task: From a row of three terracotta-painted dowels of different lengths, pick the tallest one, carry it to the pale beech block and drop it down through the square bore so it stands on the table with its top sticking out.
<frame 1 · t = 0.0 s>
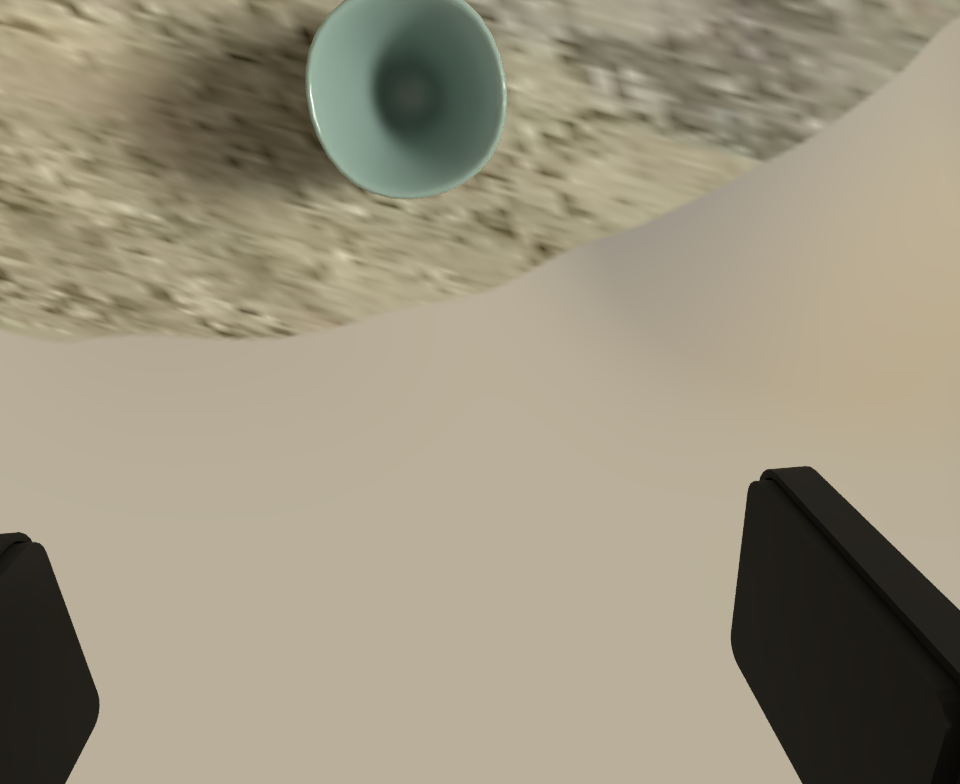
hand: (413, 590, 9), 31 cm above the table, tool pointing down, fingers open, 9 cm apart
cup: (411, 94, 36), on the table
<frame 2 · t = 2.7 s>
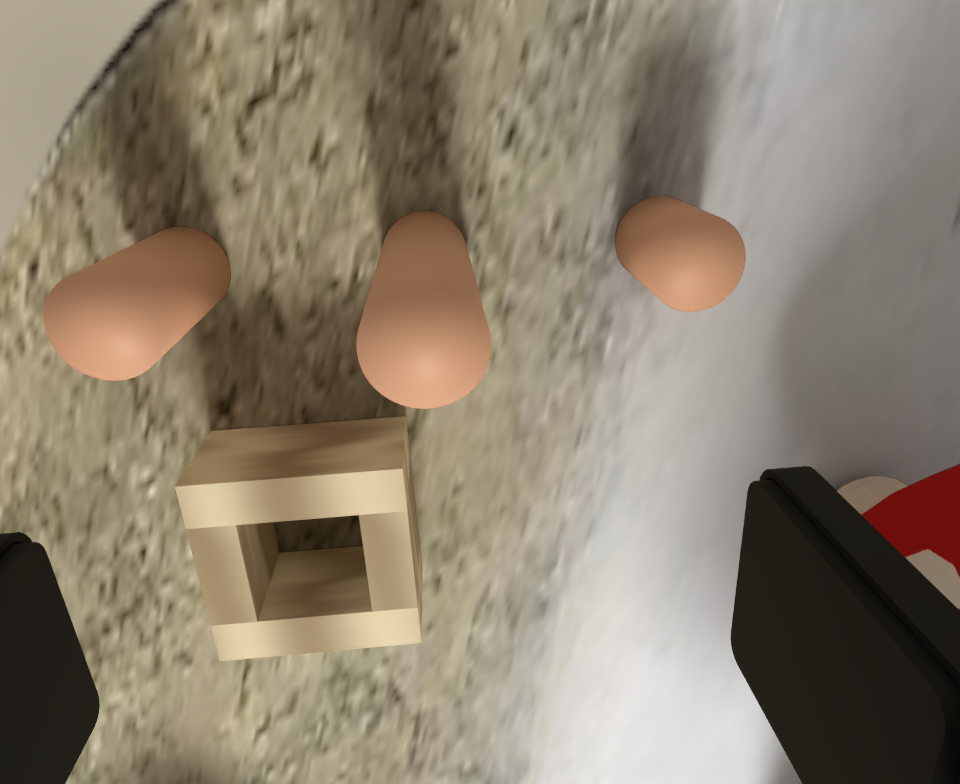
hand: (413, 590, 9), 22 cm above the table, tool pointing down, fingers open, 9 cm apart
short pin: (656, 238, 30), on the table
decorative mushroom: (847, 510, 37), on the table
bore block: (322, 506, 34), on the table
long pin: (424, 254, 30), on the table
medium pin: (186, 269, 29), on the table
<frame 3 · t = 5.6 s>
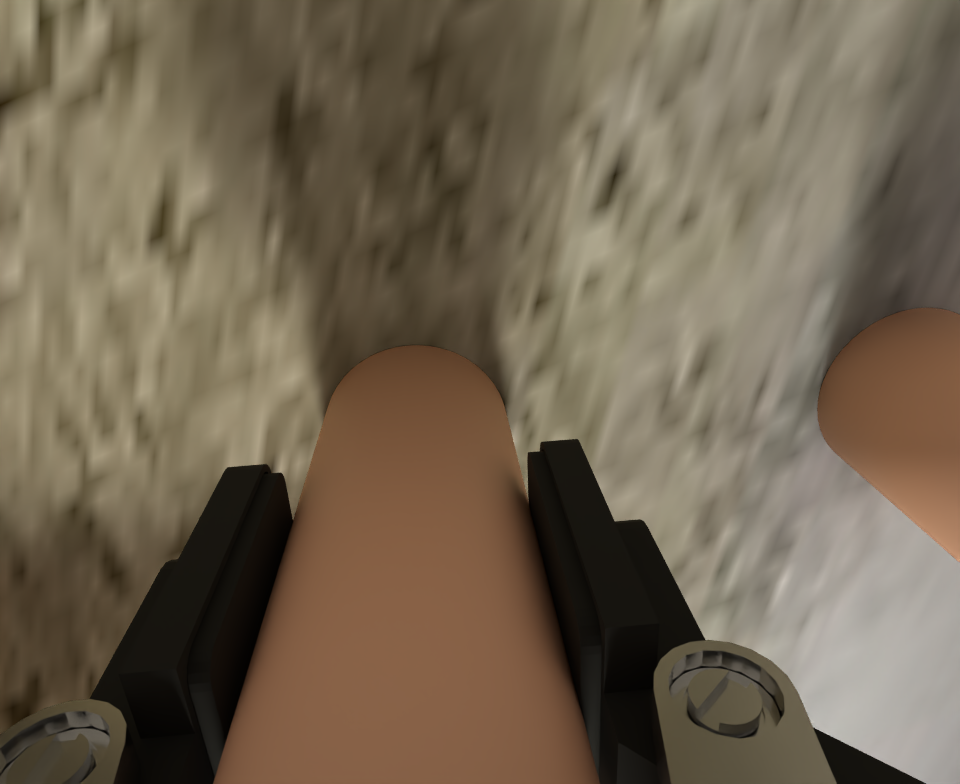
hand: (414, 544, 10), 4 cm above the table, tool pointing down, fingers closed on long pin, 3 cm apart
short pin: (903, 392, 14), on the table
long pin: (417, 430, 14), on the table, touching gripper
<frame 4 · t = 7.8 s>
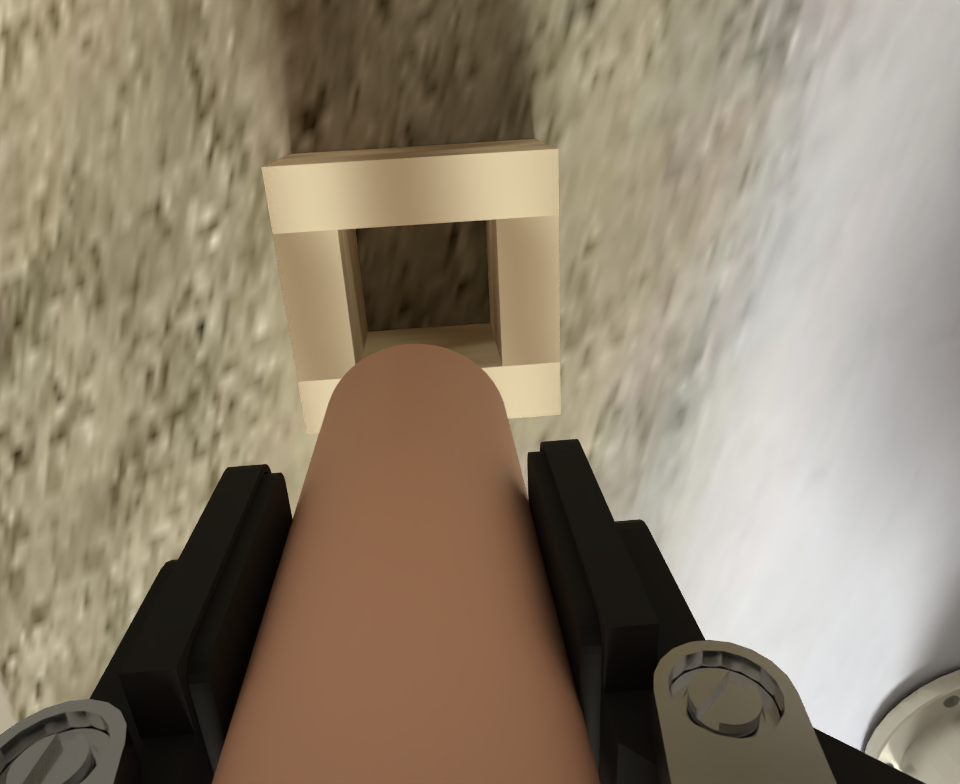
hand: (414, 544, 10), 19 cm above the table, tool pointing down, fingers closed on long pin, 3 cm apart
bore block: (424, 266, 28), on the table
long pin: (417, 429, 14), point 15 cm above the table, touching gripper
when the fingers open (6 cm above the table, at t = 10.3 s): long pin drops 2 cm, resting in bore block.
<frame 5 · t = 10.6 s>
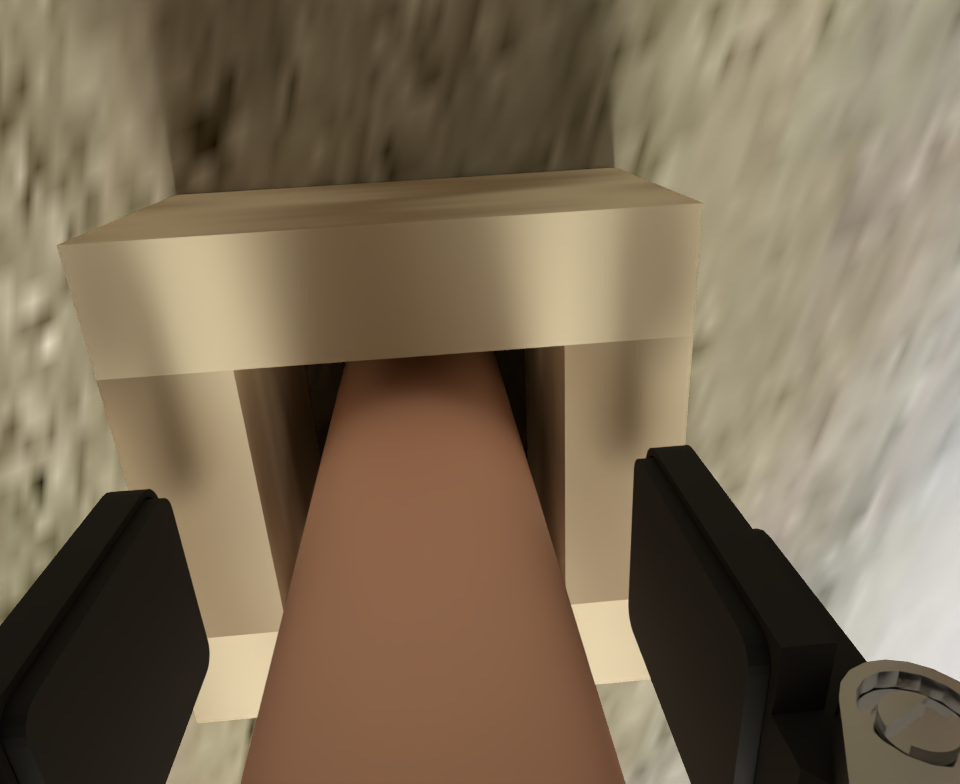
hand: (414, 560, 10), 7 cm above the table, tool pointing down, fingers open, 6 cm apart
bore block: (417, 382, 16), on the table
long pin: (422, 383, 16), resting in bore block
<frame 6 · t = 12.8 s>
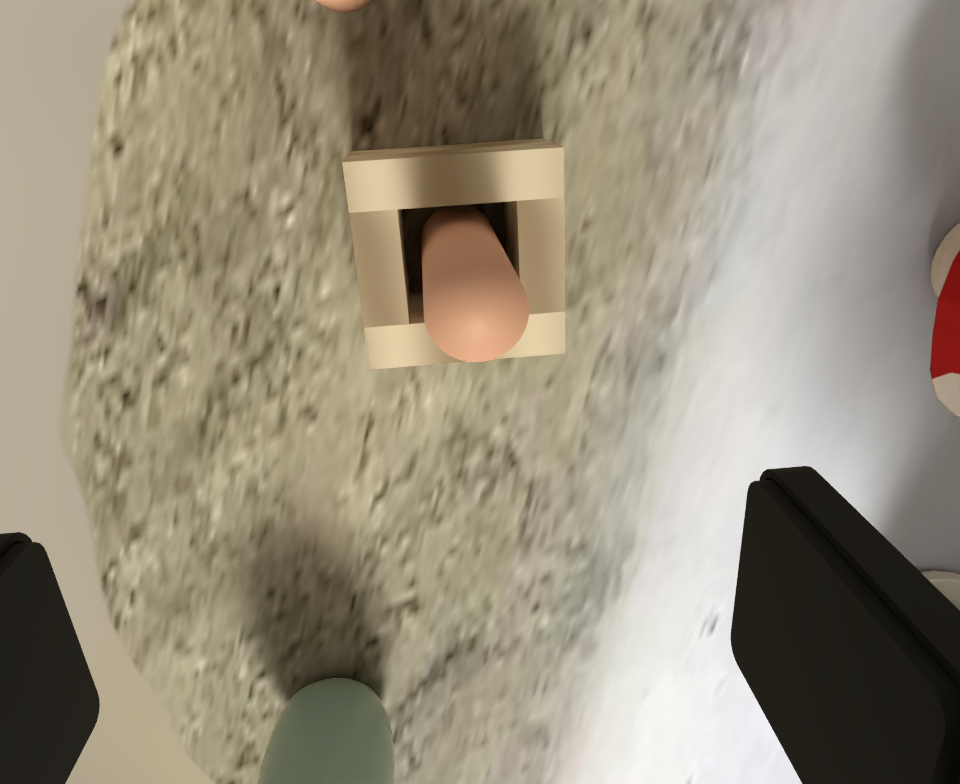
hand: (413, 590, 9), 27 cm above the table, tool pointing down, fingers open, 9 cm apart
cup: (338, 700, 47), on the table
bore block: (455, 240, 35), on the table
long pin: (457, 240, 35), resting in bore block
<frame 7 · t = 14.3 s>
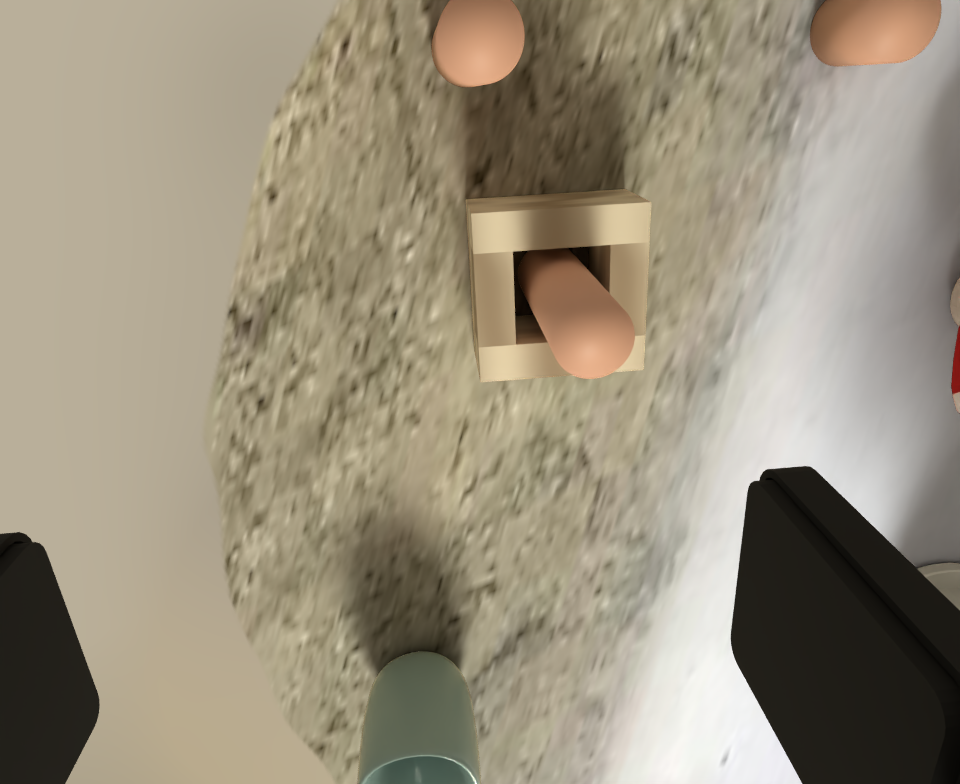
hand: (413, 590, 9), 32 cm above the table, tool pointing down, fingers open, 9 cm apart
cup: (420, 672, 53), on the table
short pin: (843, 28, 37), on the table
bore block: (546, 273, 41), on the table
long pin: (548, 273, 41), resting in bore block
medium pin: (466, 49, 36), on the table
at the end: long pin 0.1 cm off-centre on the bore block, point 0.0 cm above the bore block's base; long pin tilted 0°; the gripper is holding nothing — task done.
